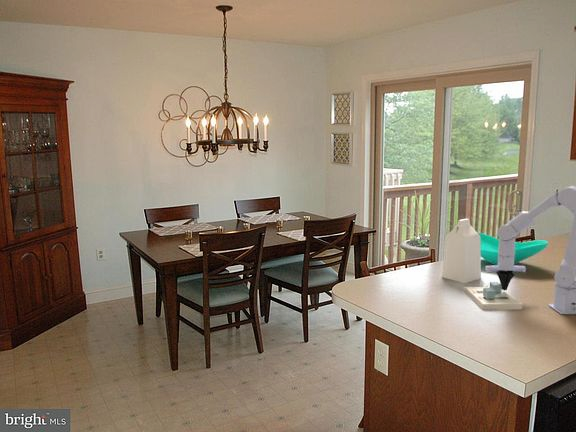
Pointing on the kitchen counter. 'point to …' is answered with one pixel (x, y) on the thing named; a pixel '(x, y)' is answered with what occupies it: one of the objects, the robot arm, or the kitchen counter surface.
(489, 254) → the table top decor
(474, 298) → the switch panel
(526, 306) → the kitchen counter surface
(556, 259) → the kitchen counter surface
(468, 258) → the milk
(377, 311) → the kitchen counter surface
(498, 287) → the tab
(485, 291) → the tab
